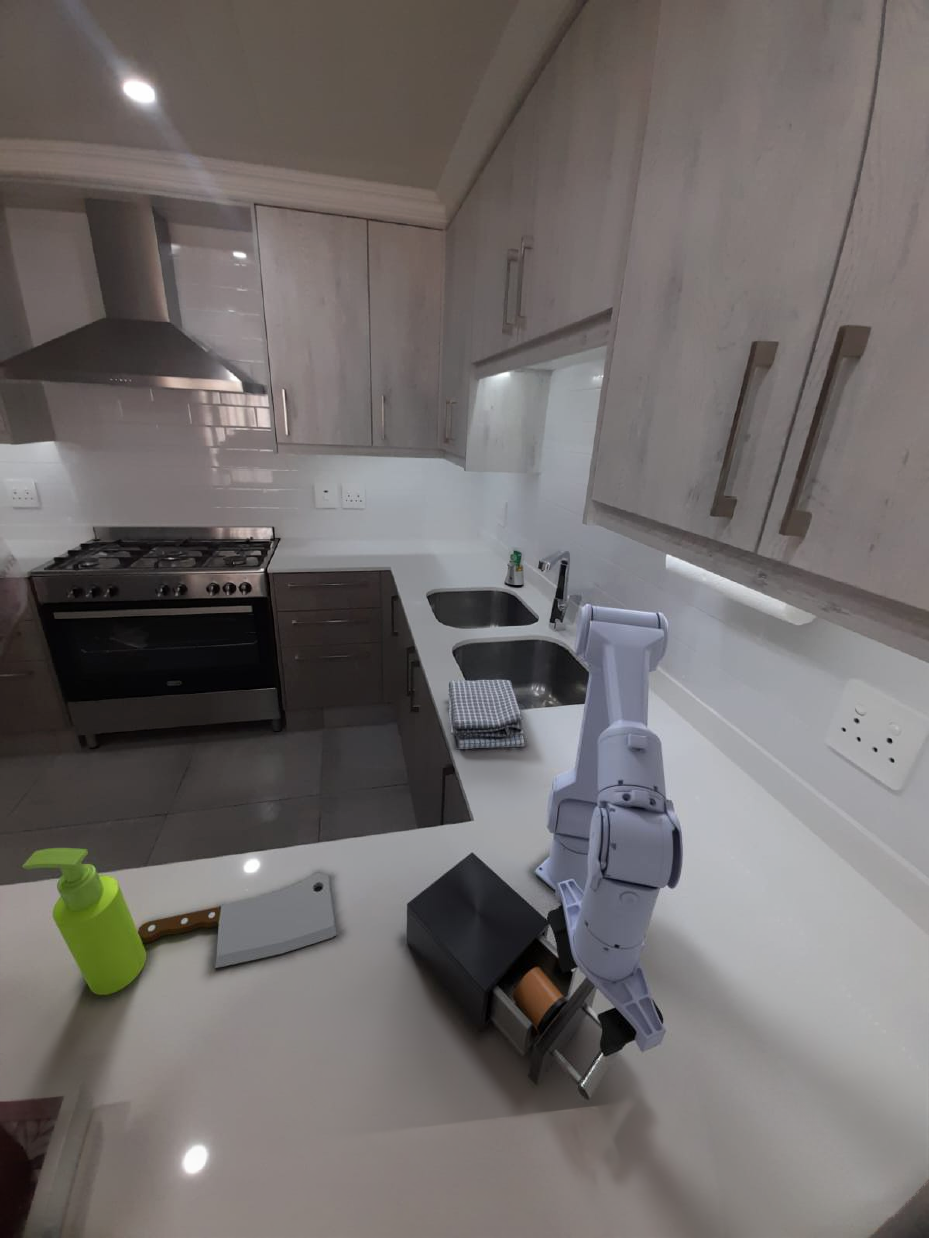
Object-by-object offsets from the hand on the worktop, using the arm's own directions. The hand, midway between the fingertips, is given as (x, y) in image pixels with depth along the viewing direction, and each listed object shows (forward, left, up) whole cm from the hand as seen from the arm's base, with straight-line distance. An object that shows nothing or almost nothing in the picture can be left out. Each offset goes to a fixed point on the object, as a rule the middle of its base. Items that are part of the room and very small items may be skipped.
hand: (588, 1004), depth 49 cm
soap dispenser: (+34, -44, -10) cm, 56 cm away
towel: (-36, -49, -11) cm, 62 cm away
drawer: (0, -5, -9) cm, 11 cm away
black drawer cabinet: (0, -16, -10) cm, 19 cm away
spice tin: (0, -7, -6) cm, 10 cm away
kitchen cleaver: (+21, -39, -11) cm, 45 cm away
